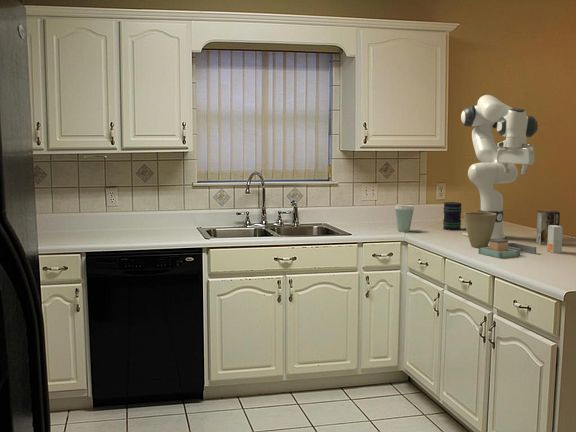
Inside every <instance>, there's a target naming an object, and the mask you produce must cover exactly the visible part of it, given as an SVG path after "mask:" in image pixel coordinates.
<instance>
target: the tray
mask: <svg viewBox="0 0 576 432" xmlns="http://www.w3.org/2000/svg"><path fill="white" fill-rule="evenodd" d="M478 254H479V255H482V256H483V255H484V256H489V257H492V258H496V259H497V258H498V259H505V258H513V257H514V258H515V257H519V256H518V255H519V251H518V250H513V249H508V251H505V252H498V251H493V250H489V246H487V247H485V248H478Z"/></svg>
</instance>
